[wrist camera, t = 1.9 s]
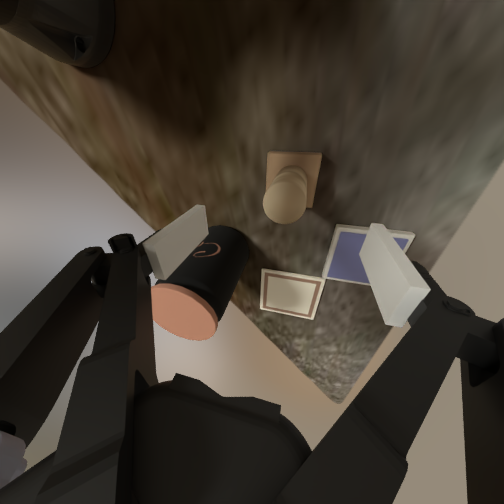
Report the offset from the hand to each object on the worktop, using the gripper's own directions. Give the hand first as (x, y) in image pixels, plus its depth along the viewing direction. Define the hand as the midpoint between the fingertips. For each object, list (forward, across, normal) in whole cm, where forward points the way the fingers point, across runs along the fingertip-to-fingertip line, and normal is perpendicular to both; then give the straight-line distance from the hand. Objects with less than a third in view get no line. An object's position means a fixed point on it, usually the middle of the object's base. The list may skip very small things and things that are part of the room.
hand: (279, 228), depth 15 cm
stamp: (+17, 0, 0) cm, 17 cm away
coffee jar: (+17, -12, -14) cm, 25 cm away
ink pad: (+17, +13, -12) cm, 25 cm away
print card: (+17, +2, -25) cm, 30 cm away
